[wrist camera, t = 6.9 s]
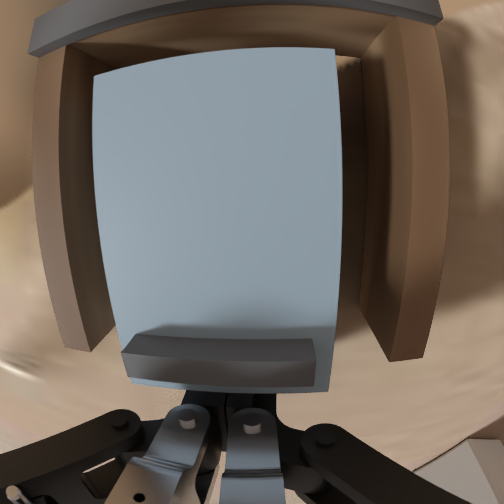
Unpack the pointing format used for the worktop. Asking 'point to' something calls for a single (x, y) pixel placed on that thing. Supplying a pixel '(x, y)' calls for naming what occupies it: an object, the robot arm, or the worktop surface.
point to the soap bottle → (470, 471)
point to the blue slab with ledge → (222, 217)
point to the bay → (242, 37)
